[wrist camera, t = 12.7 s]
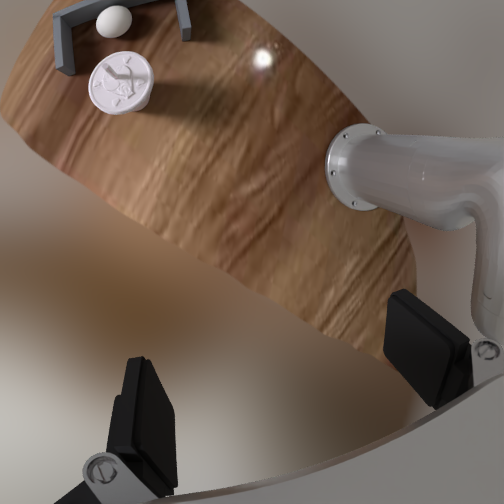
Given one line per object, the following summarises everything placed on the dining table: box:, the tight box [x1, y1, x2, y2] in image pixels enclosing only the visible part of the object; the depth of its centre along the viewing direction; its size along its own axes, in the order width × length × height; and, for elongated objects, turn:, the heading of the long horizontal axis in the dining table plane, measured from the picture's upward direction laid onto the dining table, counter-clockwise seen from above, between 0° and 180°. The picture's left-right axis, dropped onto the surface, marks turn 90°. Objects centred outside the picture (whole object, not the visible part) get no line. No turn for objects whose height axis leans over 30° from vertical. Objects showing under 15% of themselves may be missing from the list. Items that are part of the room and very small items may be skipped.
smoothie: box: [89, 51, 154, 115], centre depth 25 cm, size 6×6×14 cm
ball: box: [96, 6, 132, 38], centre depth 25 cm, size 4×4×4 cm
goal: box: [53, 0, 191, 76], centre depth 26 cm, size 16×8×4 cm, turn 101°
